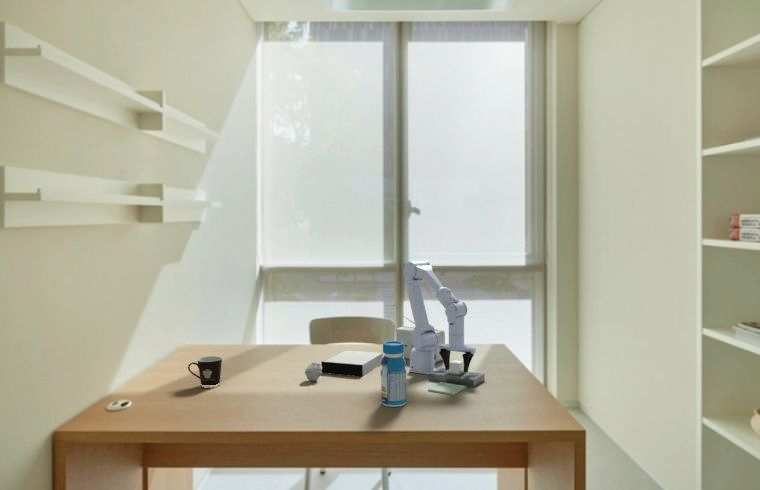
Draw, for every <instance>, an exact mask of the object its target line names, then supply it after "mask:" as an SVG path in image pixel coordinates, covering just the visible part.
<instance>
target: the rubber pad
mask: <svg viewBox="0 0 760 490" xmlns="http://www.w3.org/2000/svg"><path fill="white" fill-rule="evenodd" d="M465 389H467V386H462V385H456V384H450V383H444V382H438V383H436V384H435V385H433V386H431V387H430V388H429V387H428V389H427V391H428V392H433V393H438V394H445V395H450V396H451V395H452V396H455V395H457V394H459V393H460V392H461V391H463V390H465Z"/></svg>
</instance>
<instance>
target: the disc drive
mask: <svg viewBox="0 0 760 490" xmlns="http://www.w3.org/2000/svg"><path fill="white" fill-rule="evenodd" d="M383 354H384V353H382V352H372V351H360V350H357V351H356V350H344V351H342V352H339V353H338V354H336V355H334V356H332V357H330V358H327V359H326V360H324V361H321V365H322V371H321V373H322V372H323V373H322V374H327V373H331V374H330V375H337V374H341V375H340V376H347V375H350V377H357V376H359V377H358V378H362V377H364V376H365V375H367V374H368V373H370V372H371V371H373V370H375V369H376V368H377V366H378V367H379V366H381V361H382V359H383V357H384V355H383ZM374 368H375V369H374Z"/></svg>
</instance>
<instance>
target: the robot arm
mask: <svg viewBox="0 0 760 490" xmlns="http://www.w3.org/2000/svg"><path fill="white" fill-rule="evenodd" d="M402 271H403V276H404V279H405V287H406V291H407V295H408V300H409V305H410V309H411V313H412V317H413V322H414V323H415V324H414V327H415V328H414V329H413V331H412V332H411V333H412V345H413V347H414V348H413V349H412V350H411V352H410V359H409V370H408V372H410V373H416V374H423V375H428V376H429V373H431V372H433V371H435V370H437V369H438V368H436V367H435V363H434V349H436V346H437V344H438V341H439V339H438V335H437V334H436V332H435V327H434V326H433V325H431V324H430V323H429V318H428V315H427V309H426V307H425V302H424V298H423V293H422V289H421V284H422V283H423V282H424V281H425V282H426V283H427V284H428V285H429V286H430V288H432V289H433V290H434V291H435V292H436V294H435V298H436V299H437V300H438V301H439V302H440V304H441V305H442V306H443V308H444V313H445V316H446V317H447V322H448V343H445V344H438V350H441V351H440V352H439V354H440V355H441V357H442V359H443V360H442V361H443V363H444V368H445V370H448V369H449V362H451V360H450V359H451V352H458V353H462V356H461V357H462V359H463V360H462V361H464V372H465V373H466V372H469V368H470V363H471V361H472V359H473V357H474V355H475V354H476V347H472V346H468V345H465V317H466V315H467V314H468V307H467V304H466V303H465V302H464V301H461V300H459V299H458V298H457V297H456V296H455V294H453V292H452V289H450V288H449V287H445V286H443V284H442V283H441V281H440V280H439V278H438V277H437V275H436V274H435V271H433V265H431V264H430V262H429V261H428V260H419V261H408V262H406V263H405V264H404V267H403V269H402ZM421 332H426V333H421Z"/></svg>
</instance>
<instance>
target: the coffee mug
mask: <svg viewBox="0 0 760 490" xmlns="http://www.w3.org/2000/svg"><path fill="white" fill-rule="evenodd" d="M222 363H223V357H222V356H218V355H217V356H215V355H211V356H209V355H208V356H204V357H200V358H198V359H197V362H196V361H195V362H193V361H192V362H191V363H189V364H188V365H187V369H188V371H189V372H190V374H192V375H193V376H194V377H196V378H198V379H199V380H200V385H201V384H202V385H216V384H218V383H221V373H222ZM192 365H195V366H197V368H198V372H199V373H198V374H199V375H197V374H196V373H195V372H193V371H192V370H191V366H192Z"/></svg>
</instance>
